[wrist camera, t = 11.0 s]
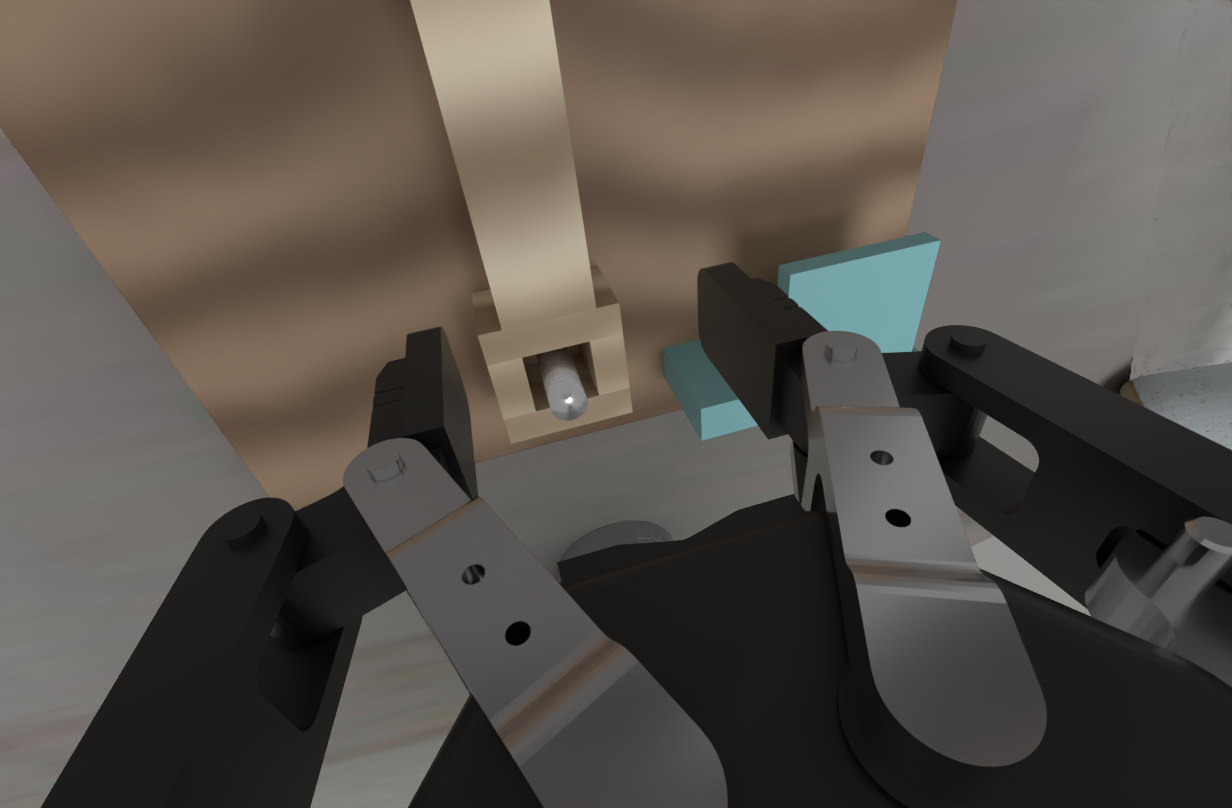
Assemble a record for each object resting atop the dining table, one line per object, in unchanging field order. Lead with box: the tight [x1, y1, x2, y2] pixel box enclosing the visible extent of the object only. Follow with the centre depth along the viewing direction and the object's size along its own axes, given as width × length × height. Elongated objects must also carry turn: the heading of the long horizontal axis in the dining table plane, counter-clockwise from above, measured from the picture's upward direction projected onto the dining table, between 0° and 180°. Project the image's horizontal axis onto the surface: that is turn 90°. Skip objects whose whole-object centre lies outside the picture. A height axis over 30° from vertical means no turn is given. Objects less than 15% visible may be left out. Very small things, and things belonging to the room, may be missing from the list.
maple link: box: [410, 0, 633, 444], centre depth 23 cm, size 18×6×4 cm, turn 7°
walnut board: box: [0, 0, 957, 509], centre depth 26 cm, size 26×36×1 cm
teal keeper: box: [663, 232, 941, 440], centre depth 28 cm, size 8×12×6 cm
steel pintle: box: [535, 347, 588, 421], centre depth 26 cm, size 2×2×6 cm
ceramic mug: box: [1119, 362, 1232, 450], centre depth 43 cm, size 11×8×8 cm
